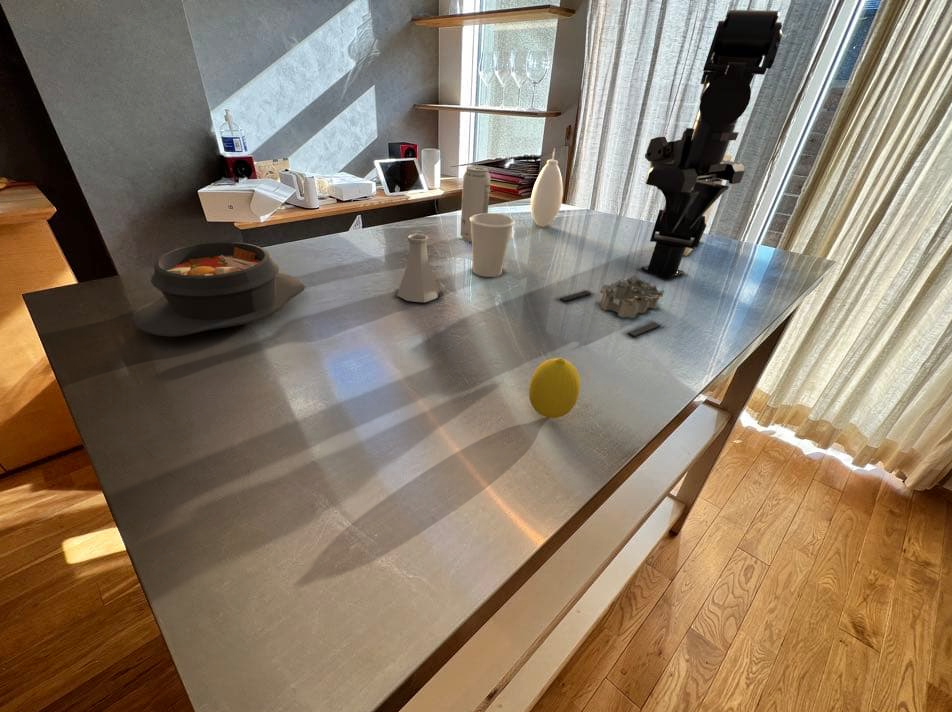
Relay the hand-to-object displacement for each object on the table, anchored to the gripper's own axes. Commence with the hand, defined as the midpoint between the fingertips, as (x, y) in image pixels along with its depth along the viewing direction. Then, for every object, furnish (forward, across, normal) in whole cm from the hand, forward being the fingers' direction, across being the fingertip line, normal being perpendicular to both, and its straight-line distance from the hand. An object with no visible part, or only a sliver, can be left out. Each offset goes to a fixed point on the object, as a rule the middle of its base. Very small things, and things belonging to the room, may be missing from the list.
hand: (678, 230), depth 75 cm
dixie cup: (+12, +20, -25) cm, 35 cm away
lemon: (+12, +44, +15) cm, 48 cm away
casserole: (+12, +68, -31) cm, 75 cm away
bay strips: (+12, +14, 0) cm, 18 cm away
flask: (+12, +38, -22) cm, 46 cm away
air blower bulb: (+12, -14, -44) cm, 48 cm away
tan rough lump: (+12, +8, 0) cm, 15 cm away
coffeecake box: (+12, -34, -16) cm, 39 cm away
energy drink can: (+12, +10, -43) cm, 46 cm away
